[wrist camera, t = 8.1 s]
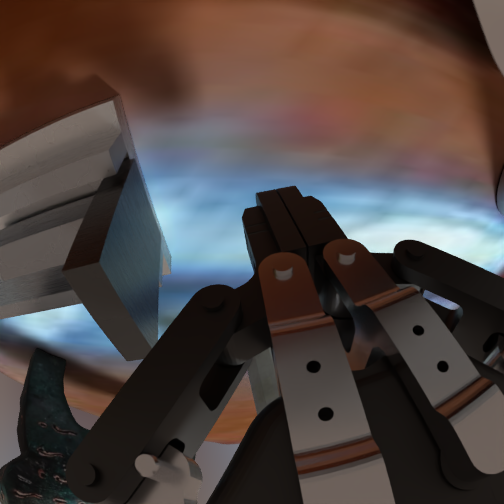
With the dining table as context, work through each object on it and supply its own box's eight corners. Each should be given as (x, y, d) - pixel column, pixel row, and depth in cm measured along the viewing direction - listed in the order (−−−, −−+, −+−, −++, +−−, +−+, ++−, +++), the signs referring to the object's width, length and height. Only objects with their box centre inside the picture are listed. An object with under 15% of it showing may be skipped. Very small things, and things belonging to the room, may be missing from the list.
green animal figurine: (14, 357, 22) (-2, 543, 7) (24, 328, 20) (3, 558, 4) (169, 413, 33) (191, 561, 18) (201, 395, 31) (232, 564, 15)
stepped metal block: (134, 158, 12) (99, 262, 7) (161, 236, 15) (157, 356, 10) (-10, 212, 11) (-72, 308, 6) (25, 272, 14) (-11, 372, 9)
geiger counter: (265, 505, 17) (387, 471, 31) (334, 487, 15) (427, 451, 28) (235, 365, 28) (357, 394, 41) (284, 330, 25) (391, 372, 39)
